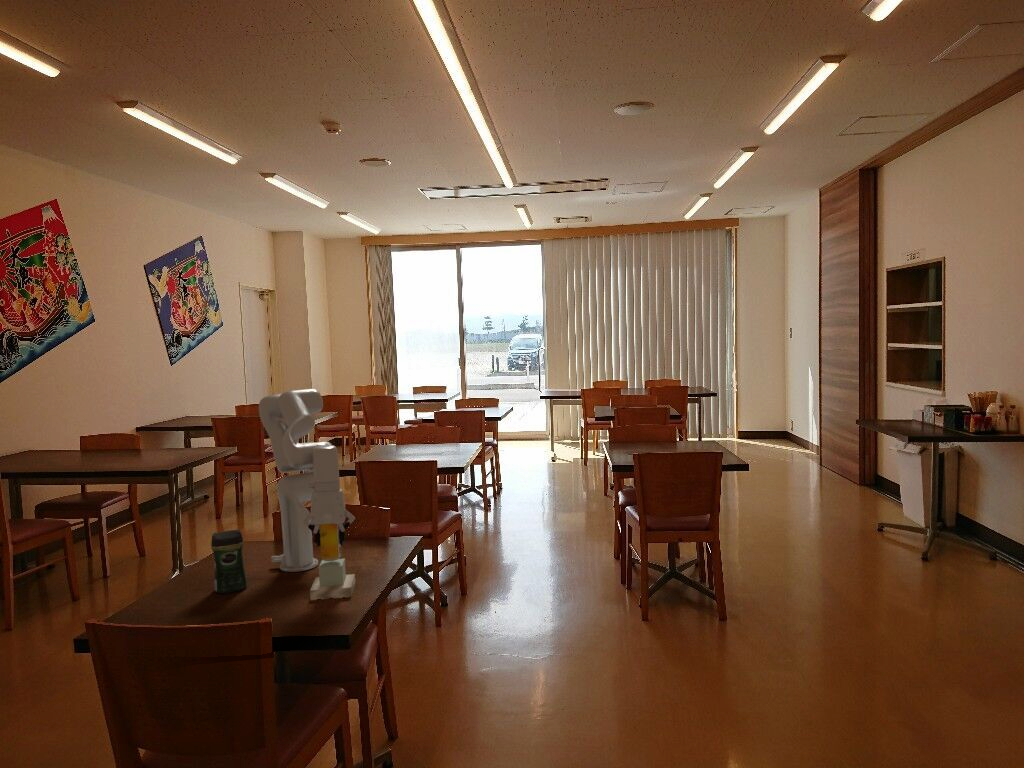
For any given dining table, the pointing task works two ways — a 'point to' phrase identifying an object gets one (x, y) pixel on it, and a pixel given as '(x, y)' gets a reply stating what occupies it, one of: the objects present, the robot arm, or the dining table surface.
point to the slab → (333, 589)
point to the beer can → (329, 539)
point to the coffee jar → (228, 561)
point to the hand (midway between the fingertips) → (330, 543)
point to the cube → (332, 573)
